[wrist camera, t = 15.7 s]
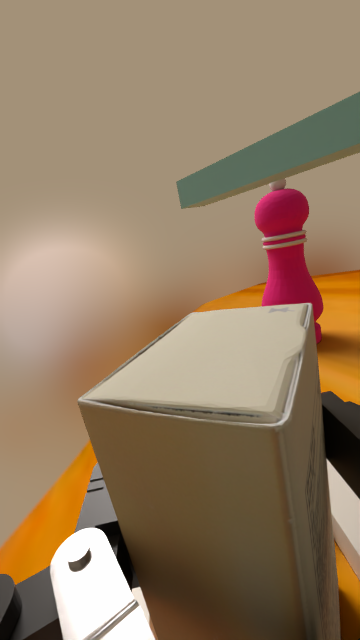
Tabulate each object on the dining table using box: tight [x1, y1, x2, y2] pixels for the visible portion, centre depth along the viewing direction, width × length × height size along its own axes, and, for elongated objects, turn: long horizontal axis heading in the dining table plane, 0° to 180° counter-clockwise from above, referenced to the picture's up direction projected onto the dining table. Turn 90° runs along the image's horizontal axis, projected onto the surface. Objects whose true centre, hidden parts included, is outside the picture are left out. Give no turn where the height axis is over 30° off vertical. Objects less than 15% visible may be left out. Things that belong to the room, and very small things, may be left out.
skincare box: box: [78, 303, 341, 640], centre depth 9 cm, size 6×4×12 cm
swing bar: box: [177, 92, 360, 209], centre depth 13 cm, size 21×3×2 cm, turn 39°
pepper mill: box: [255, 178, 323, 344], centre depth 36 cm, size 7×7×20 cm
